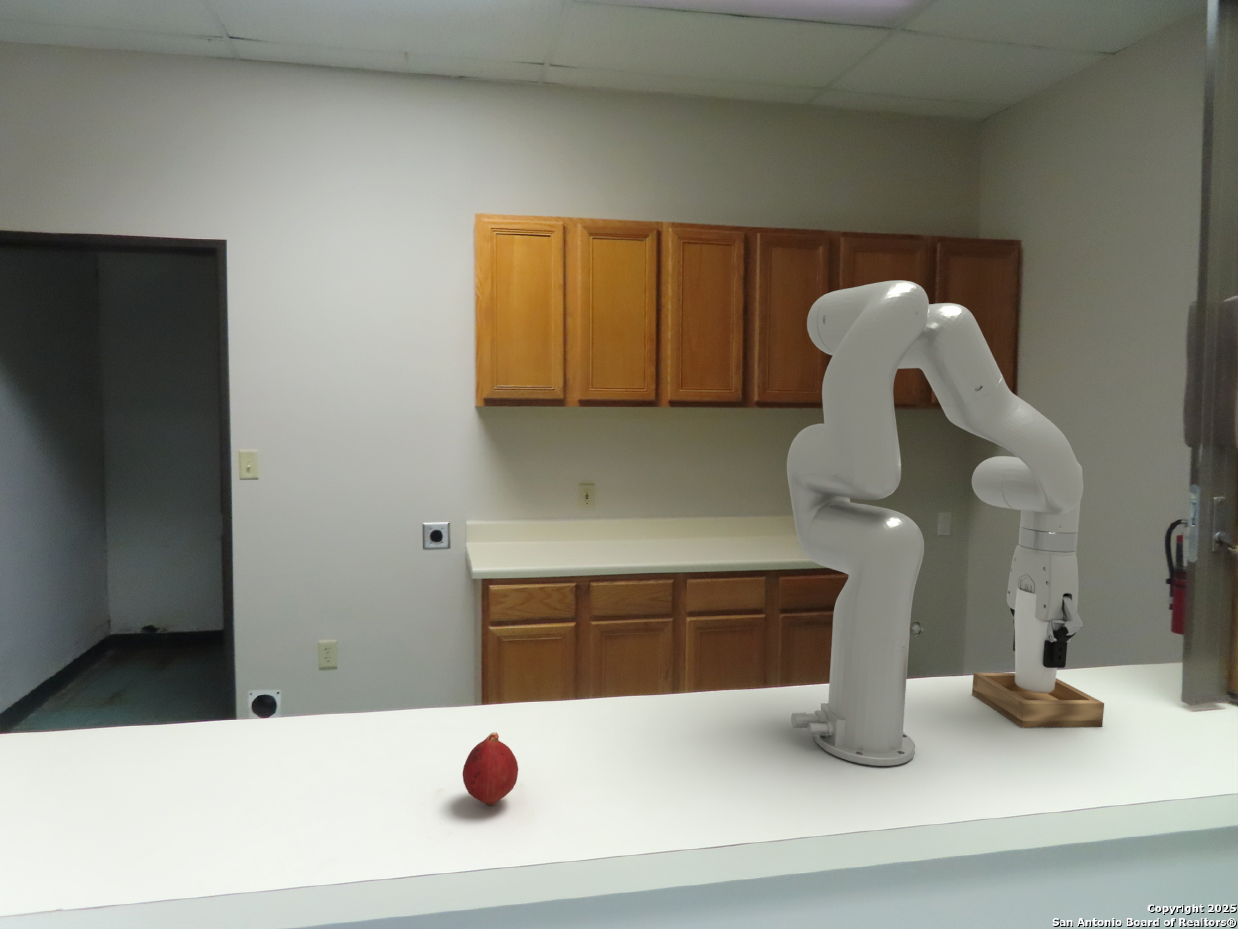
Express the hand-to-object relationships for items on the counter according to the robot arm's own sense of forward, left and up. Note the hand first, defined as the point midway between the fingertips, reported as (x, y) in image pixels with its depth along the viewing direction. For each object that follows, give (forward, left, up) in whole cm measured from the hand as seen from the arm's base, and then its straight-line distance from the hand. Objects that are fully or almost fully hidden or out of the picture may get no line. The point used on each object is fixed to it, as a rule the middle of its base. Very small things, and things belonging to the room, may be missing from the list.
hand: (1038, 658), depth 113 cm
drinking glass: (0, 0, -5) cm, 5 cm away
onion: (-80, -24, -8) cm, 84 cm away
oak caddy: (0, 0, -8) cm, 8 cm away
